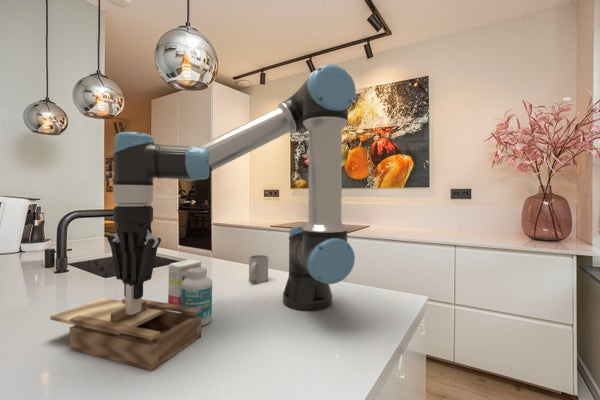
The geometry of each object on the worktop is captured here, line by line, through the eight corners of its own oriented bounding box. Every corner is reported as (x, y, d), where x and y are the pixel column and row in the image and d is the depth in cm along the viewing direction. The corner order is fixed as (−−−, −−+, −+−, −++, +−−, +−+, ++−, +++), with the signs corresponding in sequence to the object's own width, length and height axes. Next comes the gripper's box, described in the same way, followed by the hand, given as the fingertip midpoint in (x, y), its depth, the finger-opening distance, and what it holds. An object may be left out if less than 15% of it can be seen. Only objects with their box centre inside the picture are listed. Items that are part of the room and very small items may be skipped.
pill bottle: (182, 331, 70) (182, 274, 70) (179, 319, 77) (179, 267, 76) (214, 325, 73) (214, 271, 73) (209, 314, 80) (209, 264, 80)
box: (201, 336, 67) (201, 308, 67) (152, 371, 54) (152, 336, 54) (128, 322, 75) (128, 296, 74) (69, 349, 61) (69, 318, 61)
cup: (270, 278, 115) (270, 255, 114) (261, 286, 105) (261, 261, 105) (253, 277, 116) (253, 254, 116) (242, 284, 107) (242, 260, 106)
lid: (165, 312, 69) (165, 300, 69) (118, 335, 58) (118, 321, 58) (103, 300, 76) (103, 290, 76) (50, 319, 65) (50, 307, 65)
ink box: (178, 307, 85) (178, 266, 84) (167, 304, 87) (167, 264, 87) (201, 298, 92) (202, 260, 92) (190, 295, 95) (191, 258, 94)
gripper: (170, 205, 66) (170, 310, 66) (126, 203, 70) (126, 302, 70) (142, 206, 58) (142, 324, 59) (95, 204, 63) (95, 314, 63)
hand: (133, 312), depth 65 cm, fingers closed
